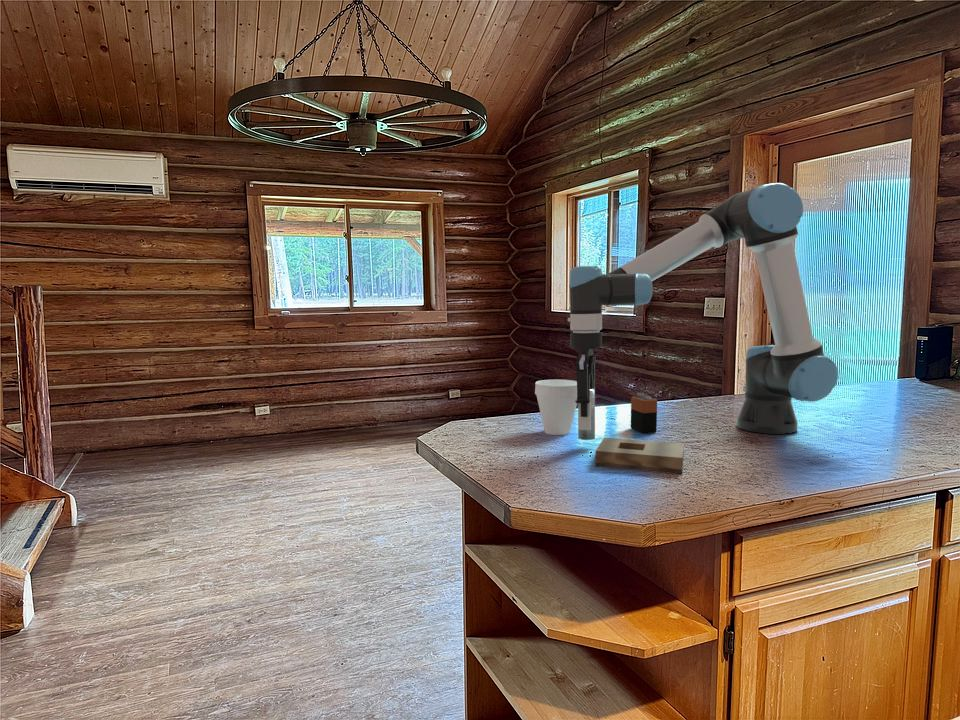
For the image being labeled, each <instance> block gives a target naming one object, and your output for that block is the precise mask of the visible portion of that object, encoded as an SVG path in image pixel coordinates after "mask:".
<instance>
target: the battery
mask: <svg viewBox="0 0 960 720" xmlns="http://www.w3.org/2000/svg"><path fill="white" fill-rule="evenodd" d="M657 423H658V400H657V399H656V398H652V397H651V395H646V394H645V393H643V392H642V393H641V392H640V393H637V395H635V396H631V398H630V429H632V430H634V431H636V432H638V433H641V434H652V433H653V434H655V433H657V425H658V424H657Z"/></svg>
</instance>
